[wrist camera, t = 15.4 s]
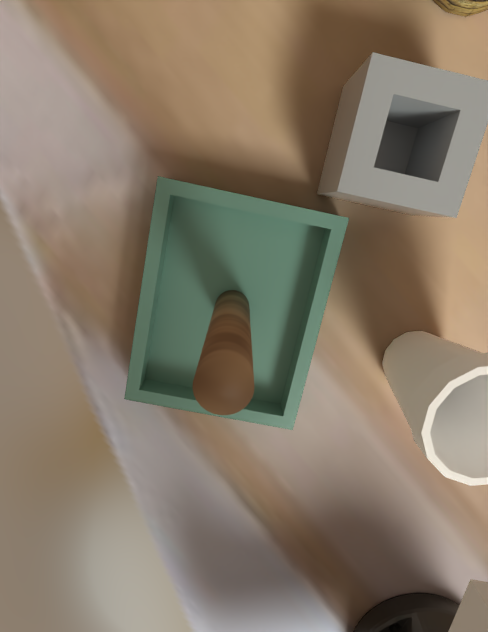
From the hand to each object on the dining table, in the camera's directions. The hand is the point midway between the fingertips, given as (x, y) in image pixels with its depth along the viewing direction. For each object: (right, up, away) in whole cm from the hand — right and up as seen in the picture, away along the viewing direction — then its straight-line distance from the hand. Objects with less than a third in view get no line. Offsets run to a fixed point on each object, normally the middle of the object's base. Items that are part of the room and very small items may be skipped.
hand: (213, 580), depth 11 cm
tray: (0, +8, +29) cm, 30 cm away
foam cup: (+18, +2, +31) cm, 36 cm away
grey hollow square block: (+13, +21, +26) cm, 36 cm away
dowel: (0, +8, +28) cm, 29 cm away
